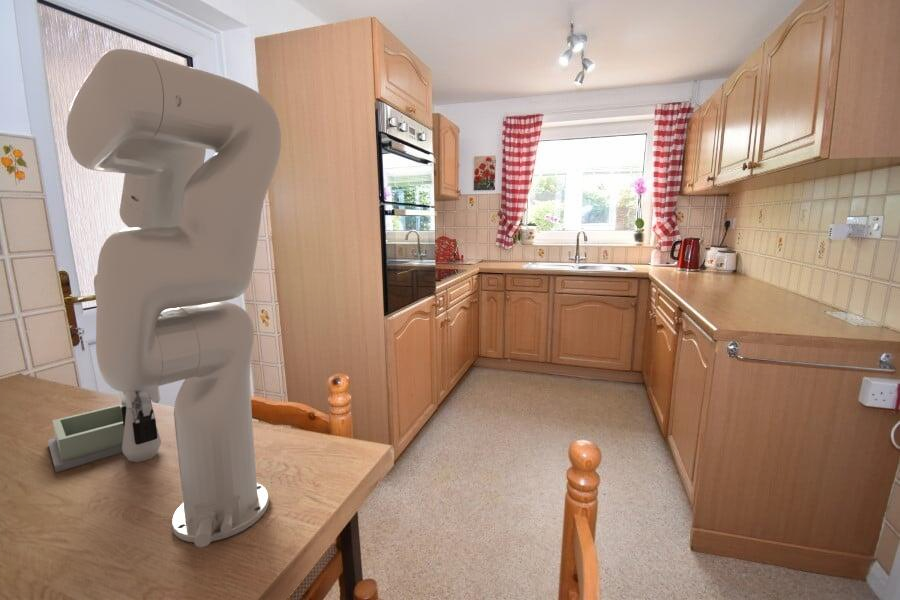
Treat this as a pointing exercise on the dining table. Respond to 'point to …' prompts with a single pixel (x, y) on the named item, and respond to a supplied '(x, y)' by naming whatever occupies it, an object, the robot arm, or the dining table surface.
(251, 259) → the robot arm
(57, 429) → the socket plate
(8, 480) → the dining table surface
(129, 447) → the salt shaker
